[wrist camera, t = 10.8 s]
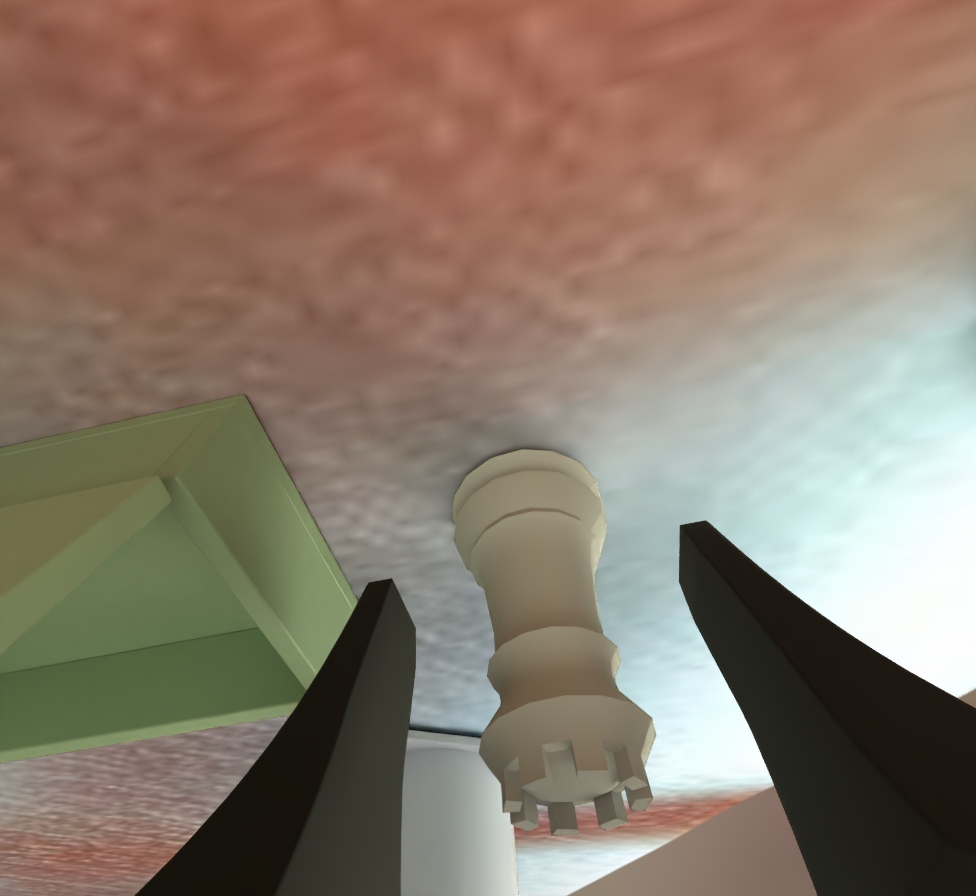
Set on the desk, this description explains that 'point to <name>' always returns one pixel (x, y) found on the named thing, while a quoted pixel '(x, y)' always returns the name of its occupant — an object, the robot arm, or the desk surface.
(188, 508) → the chest
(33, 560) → the lid
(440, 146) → the desk surface
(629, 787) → the rook chess piece
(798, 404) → the desk surface
